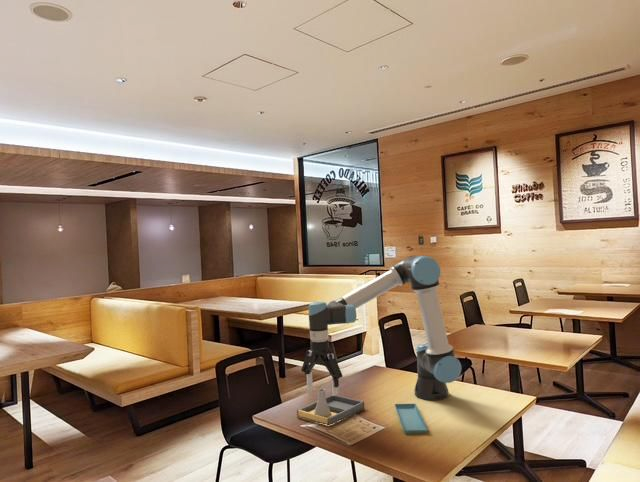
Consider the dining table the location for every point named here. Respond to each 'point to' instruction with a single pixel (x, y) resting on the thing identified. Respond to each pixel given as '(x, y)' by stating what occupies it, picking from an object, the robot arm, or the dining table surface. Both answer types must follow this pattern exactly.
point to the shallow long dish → (411, 419)
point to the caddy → (332, 410)
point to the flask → (322, 405)
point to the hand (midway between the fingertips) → (322, 392)
